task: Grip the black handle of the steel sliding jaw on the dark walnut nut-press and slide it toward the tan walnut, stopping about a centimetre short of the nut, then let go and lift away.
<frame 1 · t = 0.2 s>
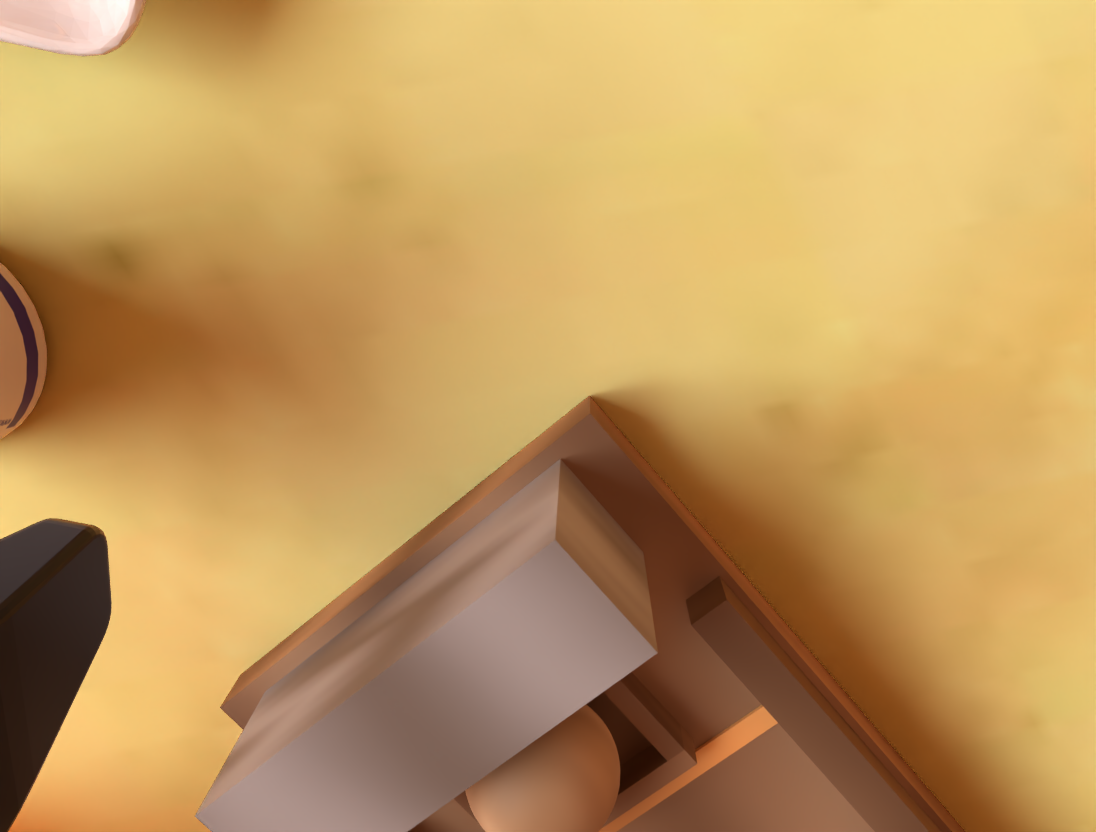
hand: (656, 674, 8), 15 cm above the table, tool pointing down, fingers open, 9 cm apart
walnut: (544, 724, 24), point 1 cm above the table, touching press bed
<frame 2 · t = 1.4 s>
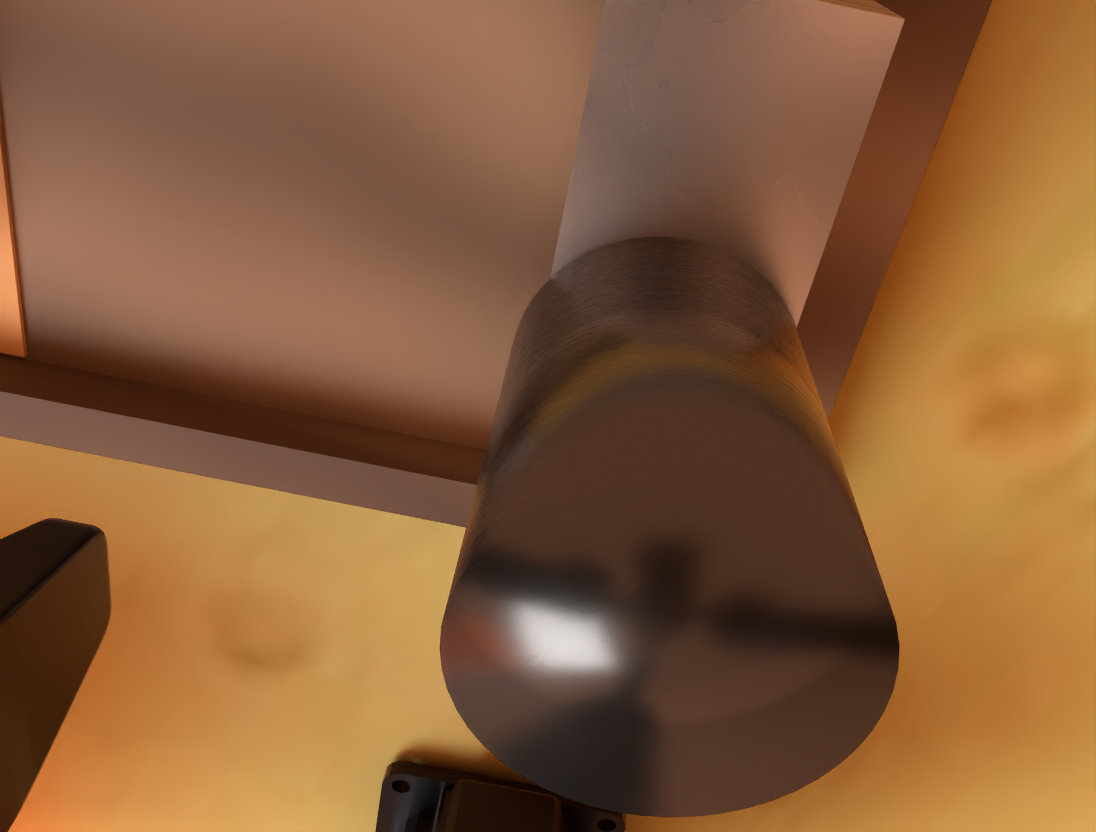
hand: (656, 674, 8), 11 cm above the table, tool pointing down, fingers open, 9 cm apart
jaw: (654, 402, 11), point 7 cm above the table, slide at 0.0 cm
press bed: (213, 121, 17), on the table
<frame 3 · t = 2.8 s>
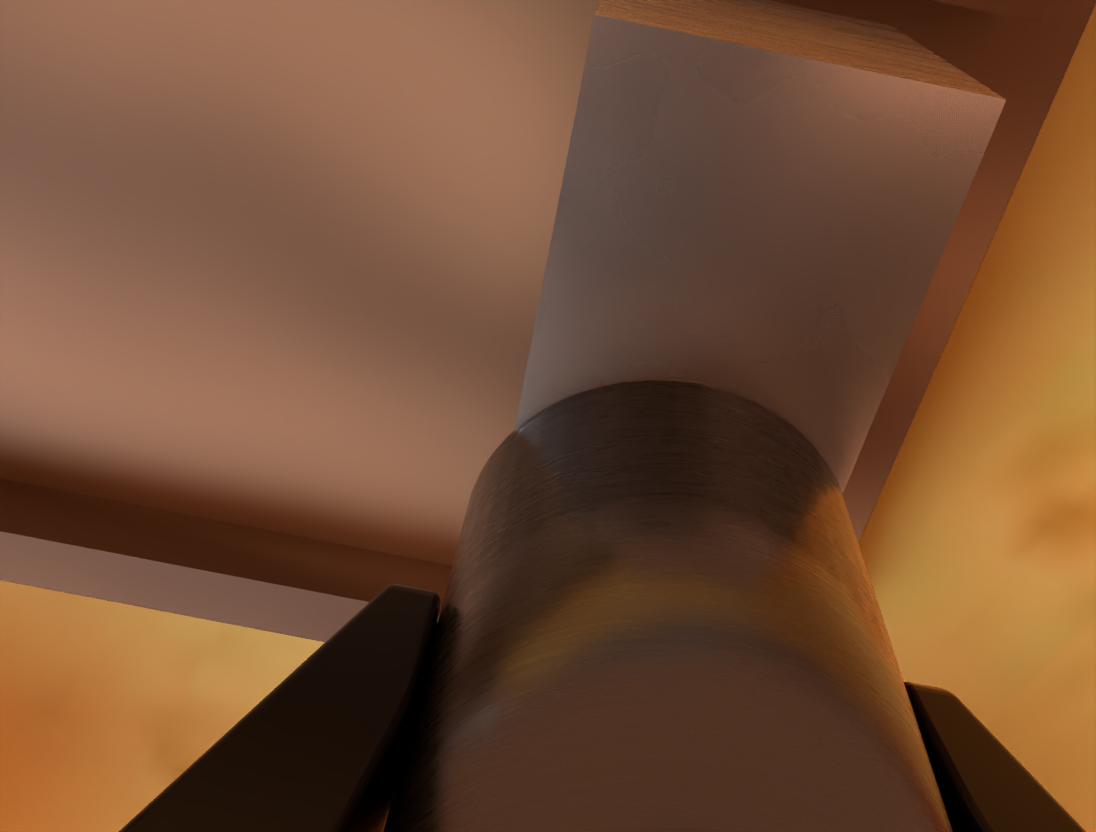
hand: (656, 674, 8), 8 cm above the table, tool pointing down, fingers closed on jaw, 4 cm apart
jaw: (654, 597, 8), point 7 cm above the table, slide at 0.0 cm, touching gripper
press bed: (125, 184, 14), on the table
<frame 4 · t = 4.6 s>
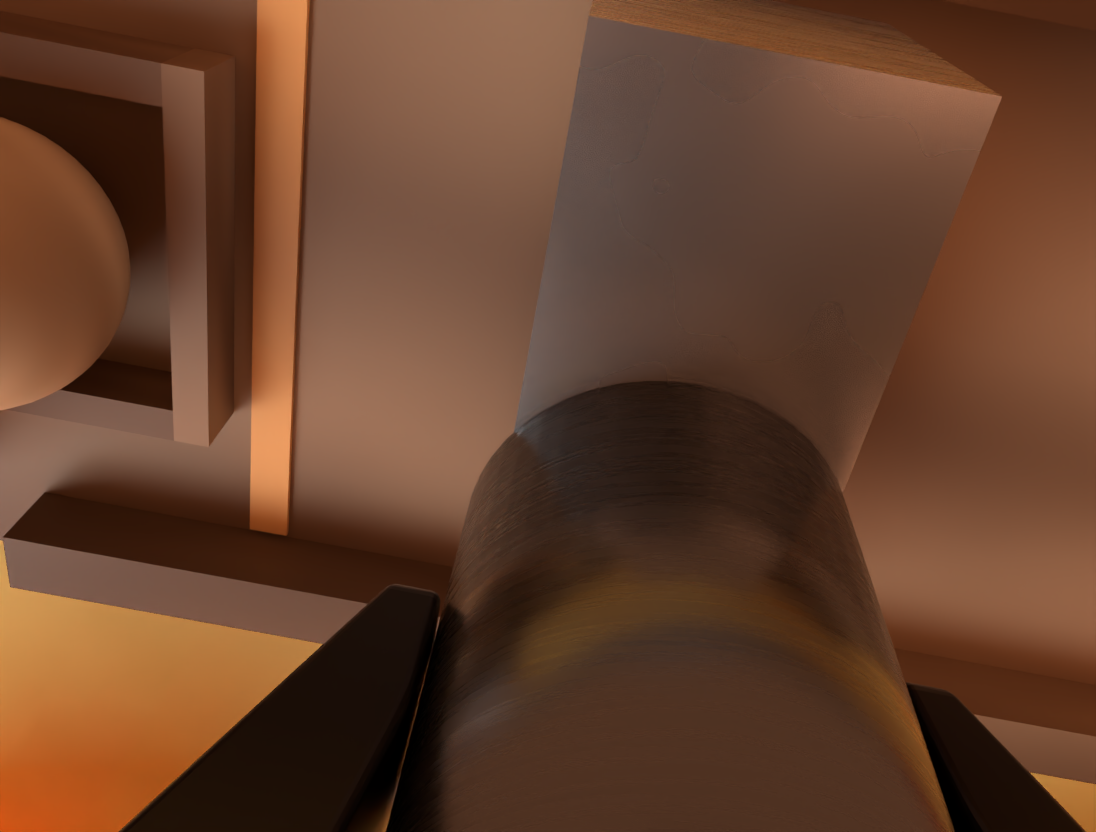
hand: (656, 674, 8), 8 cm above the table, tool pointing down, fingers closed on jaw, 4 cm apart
jaw: (655, 597, 8), point 7 cm above the table, slide at 6.1 cm, touching gripper
walnut: (46, 216, 13), point 1 cm above the table, touching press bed
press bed: (523, 265, 15), on the table
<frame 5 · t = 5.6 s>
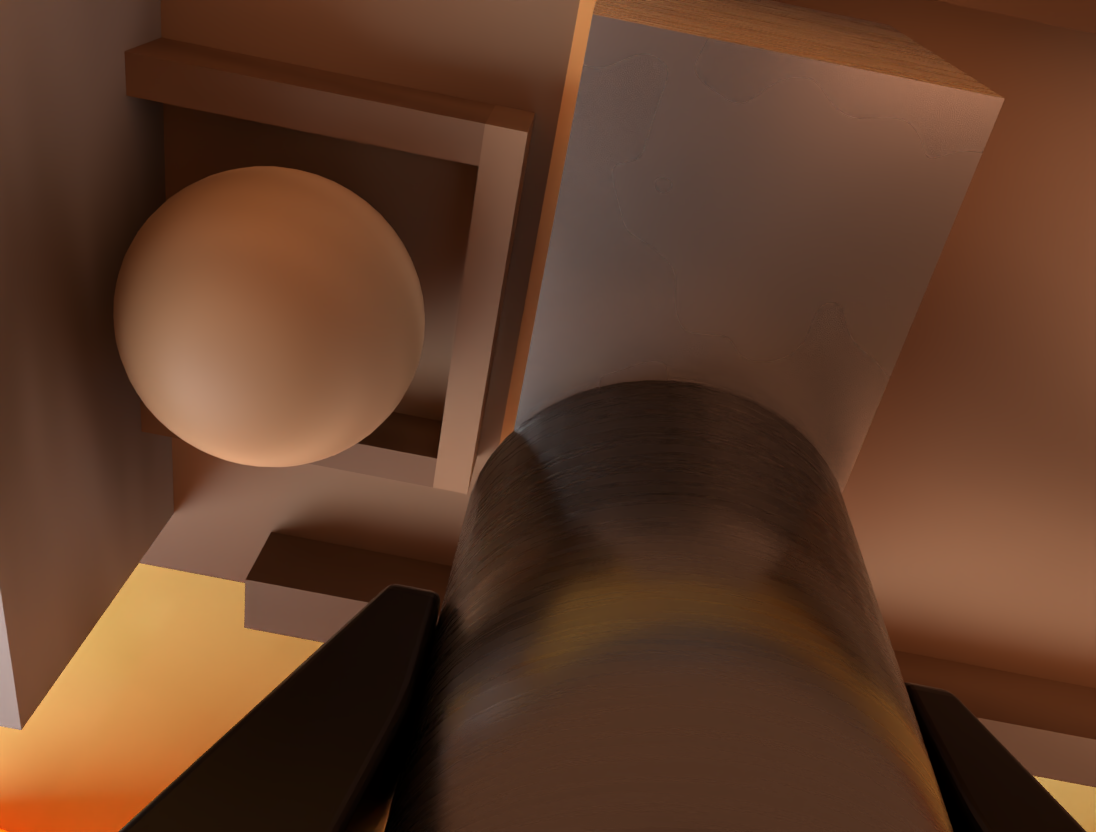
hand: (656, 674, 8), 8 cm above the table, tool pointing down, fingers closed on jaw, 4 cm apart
jaw: (654, 597, 8), point 7 cm above the table, slide at 9.9 cm, touching gripper
walnut: (317, 265, 13), point 1 cm above the table, touching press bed
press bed: (765, 312, 15), on the table
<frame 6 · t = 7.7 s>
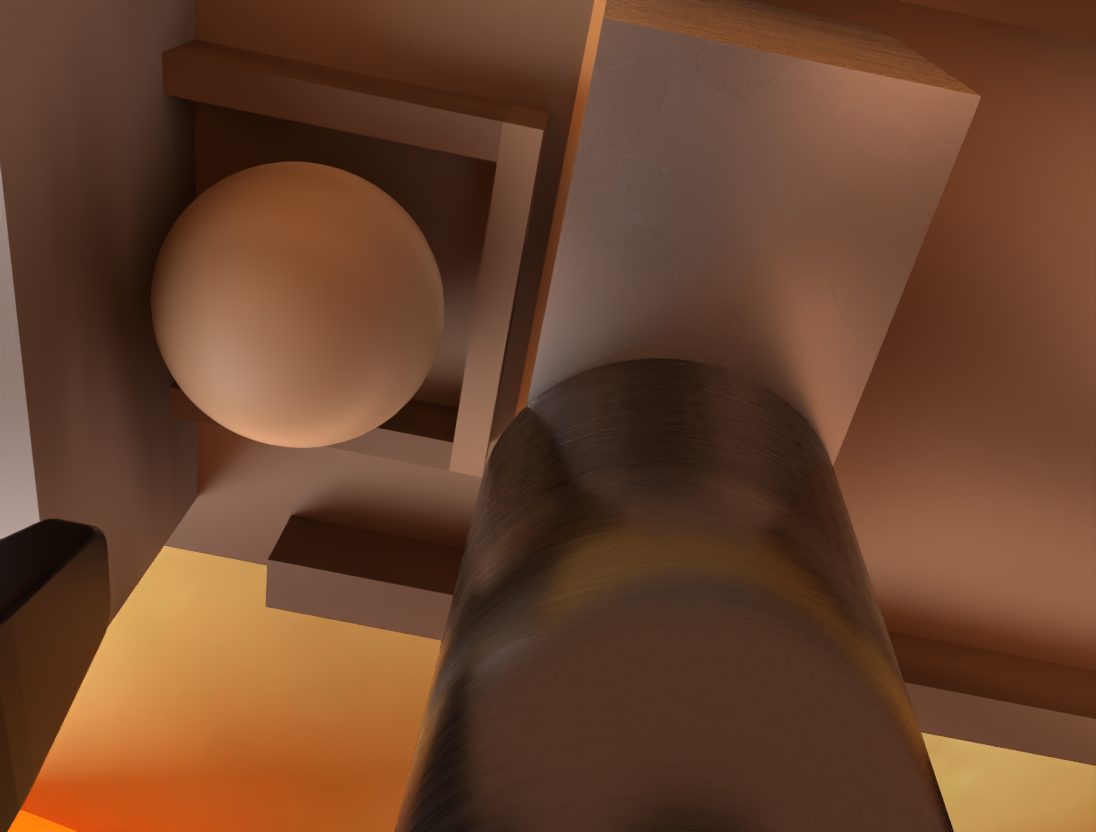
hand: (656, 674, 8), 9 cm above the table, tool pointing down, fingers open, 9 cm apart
jaw: (657, 561, 9), point 7 cm above the table, slide at 9.9 cm
walnut: (340, 257, 14), point 1 cm above the table, touching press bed
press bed: (767, 304, 15), on the table
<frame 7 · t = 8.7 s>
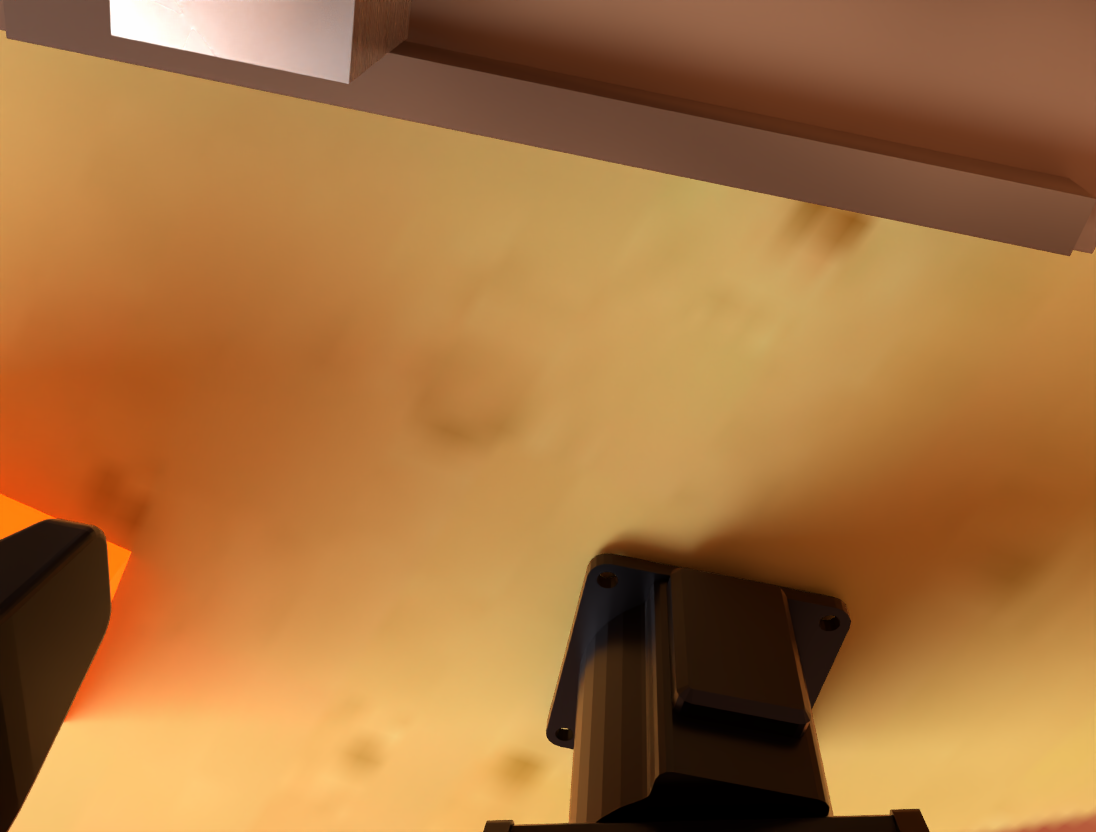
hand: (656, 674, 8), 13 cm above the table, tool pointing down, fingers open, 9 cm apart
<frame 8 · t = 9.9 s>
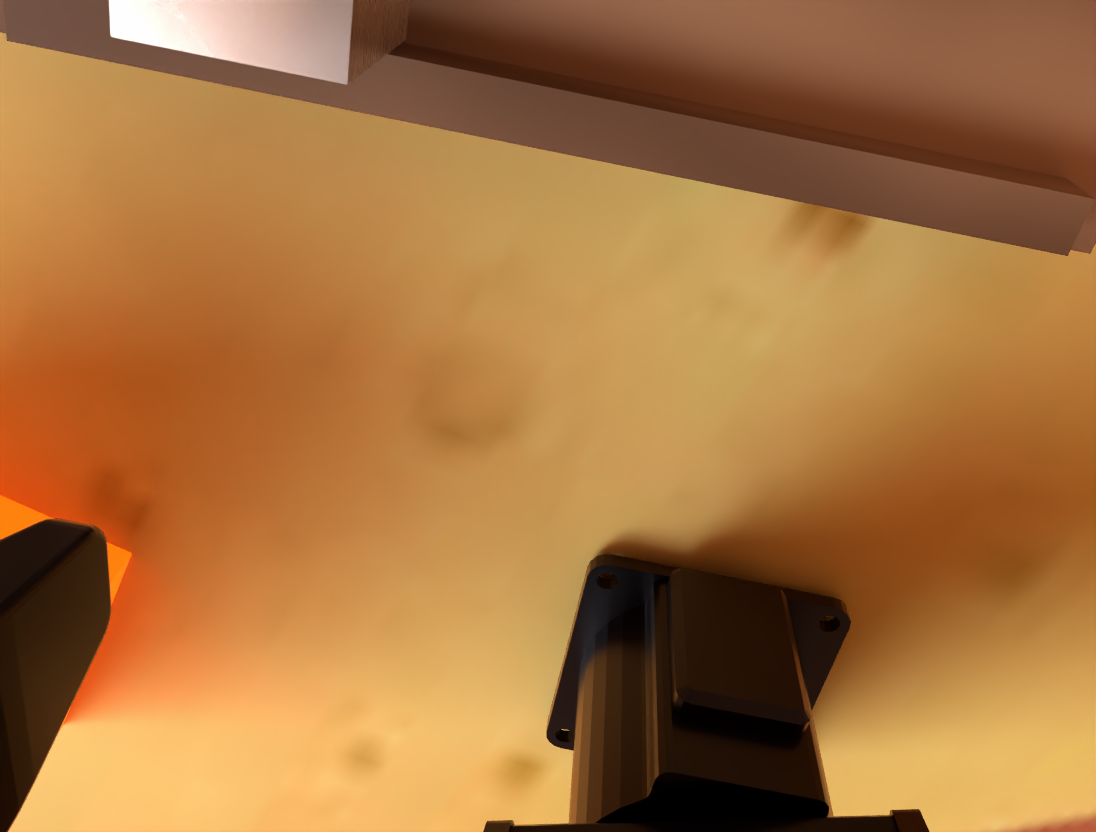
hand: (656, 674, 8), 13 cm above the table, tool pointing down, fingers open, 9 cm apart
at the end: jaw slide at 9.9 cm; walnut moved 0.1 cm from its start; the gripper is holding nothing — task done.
